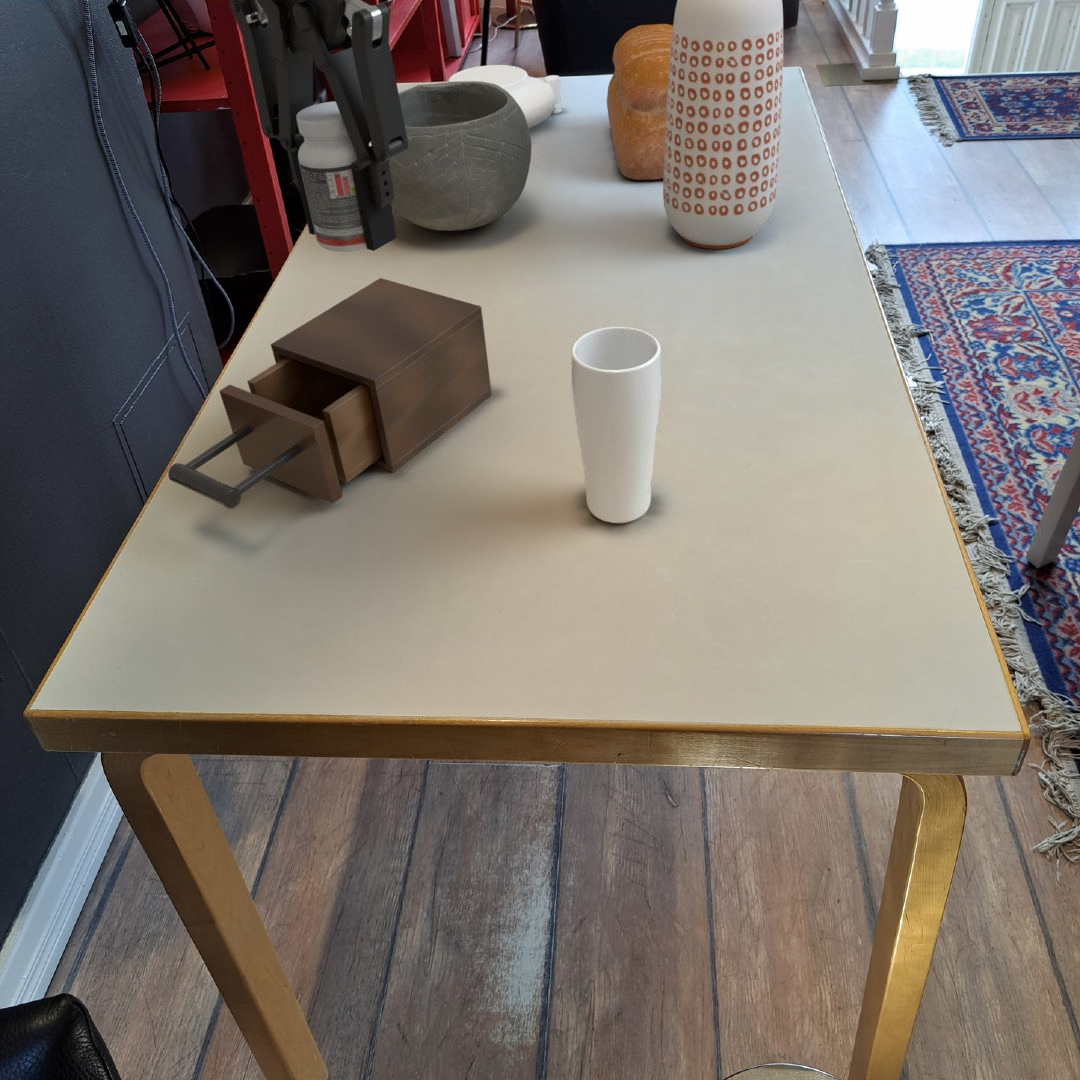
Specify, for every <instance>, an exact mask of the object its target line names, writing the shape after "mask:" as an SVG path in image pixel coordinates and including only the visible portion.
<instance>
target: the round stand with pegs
mask: <svg viewBox="0 0 1080 1080" xmlns="http://www.w3.org/2000/svg"><path fill="white" fill-rule="evenodd" d="M461 81H479V82H487V83H492V84H496V85H498V86H500V87H501V88H503V89H504V90H506V91H507V92H508V93H509V94H510V95H511V96H512V97H513V98H514V99H515V101H516V102H517V103H518V105H519V106H520V108H521V109H522V111H523V113H524V115H525V118H526V121H527V125H528V128H529V129H530V128H533V127H535V126H538V125H539V124H541V123H543V122H544V121H545V120H547V119H548V118H549V117H550V115H551V114H559V113H561V112H562V111H563V109H562V105H561V106H559V107H554V106H555V104H560V102H561V103H562V89H561V77H560V76H559V75H555V74H552V75H547V76H545V77H544V80H541V79H539V78H537V77H534V76H531V75H530V76H529V75H528V73H527V71H526V70H525V69H523V68H521V67H518V66H514V65H507V64H487V65H480V66H474V67H470V68H469V67H468V68H465V69H462V70H460V71H459V70H458V71H457V72H456V73H453V74H452V75H451V76H450V77H449V78H448V80H447V82H461Z"/></svg>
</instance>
